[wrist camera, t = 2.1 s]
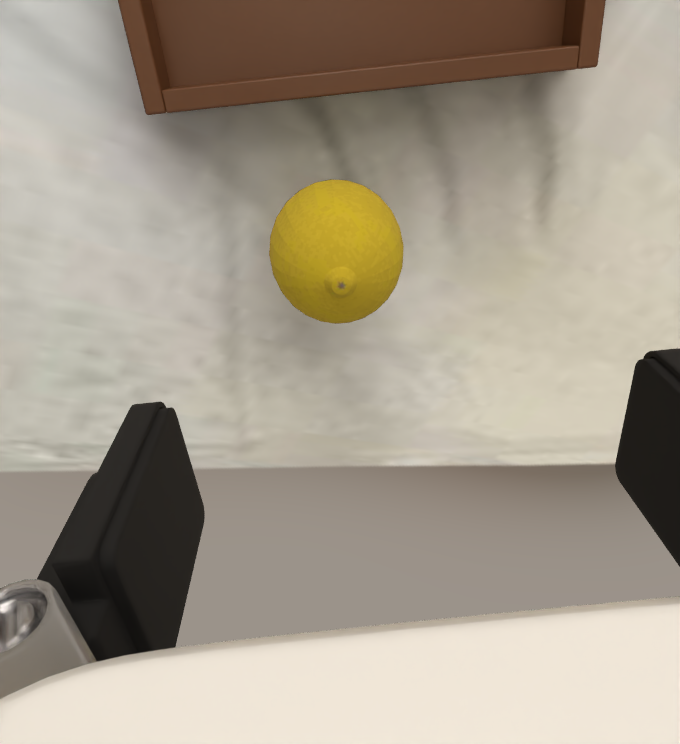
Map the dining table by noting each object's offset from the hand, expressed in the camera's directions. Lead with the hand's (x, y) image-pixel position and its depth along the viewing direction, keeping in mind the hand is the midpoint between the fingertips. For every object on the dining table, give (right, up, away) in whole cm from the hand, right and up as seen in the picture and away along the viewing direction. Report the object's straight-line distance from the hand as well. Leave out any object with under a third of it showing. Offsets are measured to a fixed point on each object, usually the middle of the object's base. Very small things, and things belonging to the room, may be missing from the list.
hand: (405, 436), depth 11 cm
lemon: (-2, +9, +15) cm, 18 cm away
